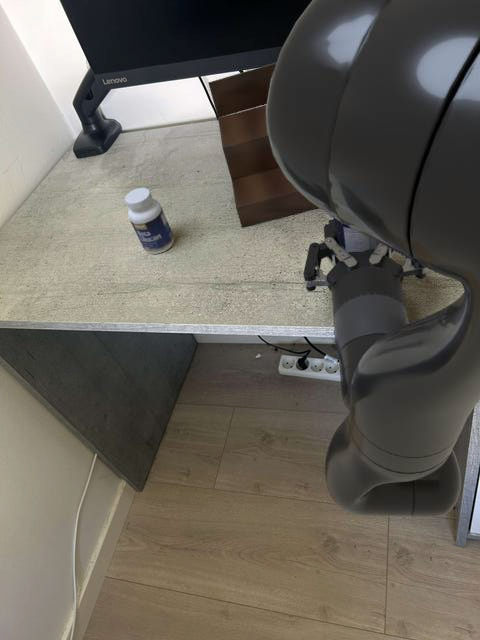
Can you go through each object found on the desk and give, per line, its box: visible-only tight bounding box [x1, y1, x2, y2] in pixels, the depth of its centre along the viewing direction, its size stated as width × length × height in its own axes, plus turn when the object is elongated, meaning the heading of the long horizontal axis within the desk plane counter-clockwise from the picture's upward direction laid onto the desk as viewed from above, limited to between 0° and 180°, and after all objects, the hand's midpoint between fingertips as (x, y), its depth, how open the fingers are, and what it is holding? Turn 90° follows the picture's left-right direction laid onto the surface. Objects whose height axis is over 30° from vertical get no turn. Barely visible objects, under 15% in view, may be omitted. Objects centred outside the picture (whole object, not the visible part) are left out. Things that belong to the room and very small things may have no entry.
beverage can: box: [333, 218, 378, 252], centre depth 61 cm, size 6×6×12 cm
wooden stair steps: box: [207, 62, 320, 228], centre depth 79 cm, size 14×19×16 cm
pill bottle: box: [124, 187, 175, 255], centre depth 78 cm, size 5×5×10 cm
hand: (356, 221), depth 62 cm, fingers closed on beverage can, 5 cm apart
